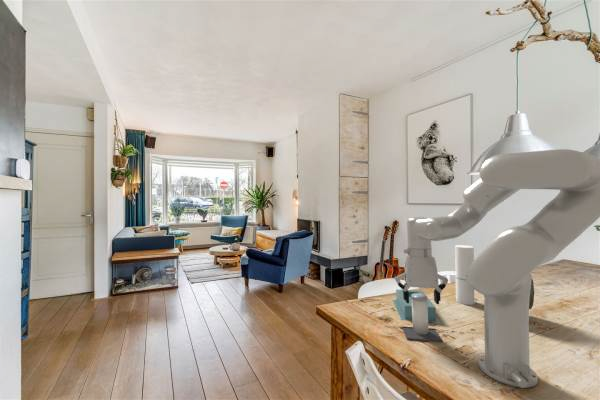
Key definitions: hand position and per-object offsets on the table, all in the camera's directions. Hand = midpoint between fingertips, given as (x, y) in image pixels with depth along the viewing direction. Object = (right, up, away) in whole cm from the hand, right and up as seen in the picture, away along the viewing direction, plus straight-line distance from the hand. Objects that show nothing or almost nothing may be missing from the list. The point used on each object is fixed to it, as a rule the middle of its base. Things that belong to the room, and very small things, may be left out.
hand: (421, 302), depth 93 cm
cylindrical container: (+32, -11, +28) cm, 44 cm away
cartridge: (0, -10, 0) cm, 10 cm away
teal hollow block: (+5, -11, +18) cm, 21 cm away
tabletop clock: (+40, -11, +14) cm, 43 cm away
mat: (0, -11, +1) cm, 11 cm away
